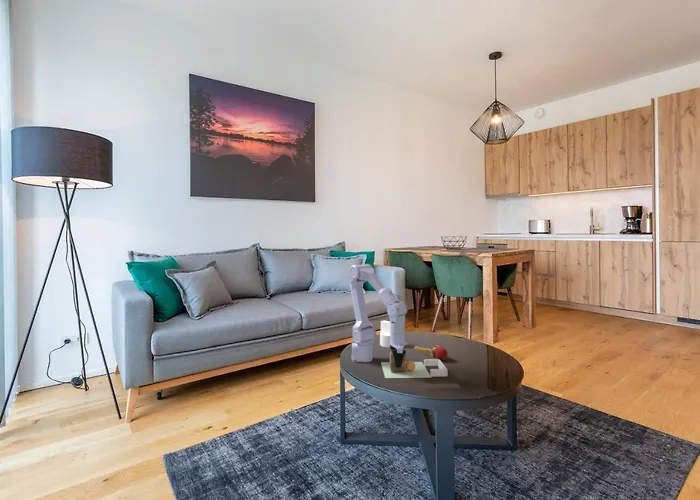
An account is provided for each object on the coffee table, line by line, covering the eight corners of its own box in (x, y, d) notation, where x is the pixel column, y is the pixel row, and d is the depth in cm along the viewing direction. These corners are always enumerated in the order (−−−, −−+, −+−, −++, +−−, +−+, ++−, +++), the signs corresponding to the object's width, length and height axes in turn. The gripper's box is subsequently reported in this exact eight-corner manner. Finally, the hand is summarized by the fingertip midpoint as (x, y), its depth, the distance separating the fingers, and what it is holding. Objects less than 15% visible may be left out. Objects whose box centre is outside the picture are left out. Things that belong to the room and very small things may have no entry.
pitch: (385, 381, 131) (385, 371, 131) (380, 365, 148) (380, 356, 148) (448, 381, 131) (448, 370, 131) (436, 365, 148) (436, 356, 148)
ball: (406, 363, 136) (416, 362, 136) (404, 359, 140) (414, 359, 140) (406, 372, 136) (416, 372, 136) (404, 369, 140) (414, 368, 140)
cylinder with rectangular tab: (376, 344, 178) (376, 322, 178) (387, 341, 184) (387, 319, 184) (389, 348, 171) (389, 325, 171) (400, 344, 178) (400, 322, 177)
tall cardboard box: (391, 371, 136) (390, 354, 136) (389, 368, 140) (389, 351, 140) (405, 371, 136) (405, 354, 136) (404, 367, 140) (404, 350, 140)
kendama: (410, 356, 163) (440, 361, 149) (410, 343, 164) (440, 346, 150) (420, 356, 168) (451, 361, 154) (420, 343, 169) (451, 346, 155)
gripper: (410, 336, 130) (410, 371, 130) (404, 327, 145) (404, 358, 145) (392, 336, 130) (392, 371, 130) (387, 327, 145) (388, 358, 145)
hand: (397, 364), depth 138 cm, fingers closed on tall cardboard box, 4 cm apart
